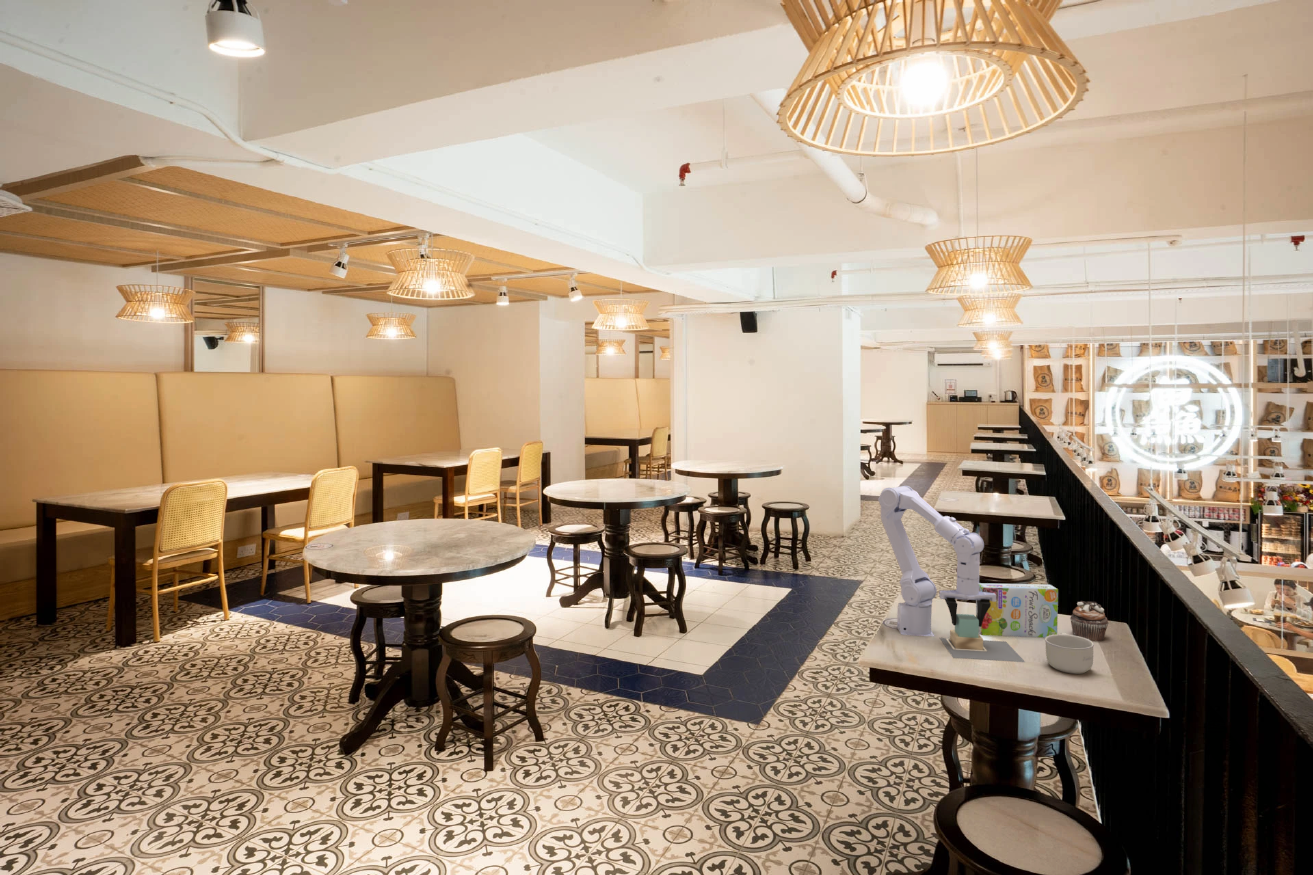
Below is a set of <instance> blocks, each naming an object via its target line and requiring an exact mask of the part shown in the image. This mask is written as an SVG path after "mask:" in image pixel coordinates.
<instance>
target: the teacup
mask: <svg viewBox="0 0 1313 875" xmlns="http://www.w3.org/2000/svg"><path fill="white" fill-rule="evenodd" d="M1044 642H1045V657H1046V661H1047V663H1048V664H1049V665H1050V666H1051V667H1052V668H1054V669H1055V670H1057V671H1060V672H1062V673H1067V674H1075V675H1081V674H1085V673H1086V672H1087V671H1089V670H1091V668H1092V667H1093V665H1094V646H1095V644H1094V641H1091V640H1089V639H1086V638H1083V637H1079V636H1074V635H1073V634H1068V633H1066V632H1061V633H1059V634H1058V633H1057V634H1056V635H1050V636H1047V637H1044Z"/></svg>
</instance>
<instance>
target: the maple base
mask: <svg viewBox="0 0 1313 875" xmlns="http://www.w3.org/2000/svg"><path fill="white" fill-rule="evenodd" d="M949 630H950V631H949V638H950V641H951V642H952V644H953V645H954V646H955V648H956V649H973V650H983V640H984V639H983V637H982V635H981V634H980V633H978V638H970V637H959V636H958V635H957V633H956V632H955V629H949Z"/></svg>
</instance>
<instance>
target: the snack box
mask: <svg viewBox="0 0 1313 875" xmlns="http://www.w3.org/2000/svg"><path fill="white" fill-rule="evenodd" d="M979 591H980V592H988V593H994V594H996V602H993V601H990V603H991V606H990V608H989V609H988V611H987V613H986V614H985V617H984V619H983V622H982V627H979V633H978V634H979V635H980V636H995V637H1025V638H1027V637H1028V638H1046V637H1047V636H1050V635H1056V634H1058V619H1059V618H1058V616H1059V615H1058V610H1059V607H1058V606H1059V589H1058V588H1056V587H1055V586H1053V585H1052V584H1040V583H1039V584H1038V583H1037V584H1036V583H1032V584H1030V583H1029V584H1028V583H988V582H987V583H981V582H979ZM975 617H976V618H977V600H975Z"/></svg>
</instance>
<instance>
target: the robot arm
mask: <svg viewBox="0 0 1313 875" xmlns="http://www.w3.org/2000/svg"><path fill="white" fill-rule="evenodd" d="M877 501H878V503H879V506H880V519H881V523H882V526H883V528H884V530H885V532H886V536H887V539H888V540H889V543H890V545H891V548H892V551H893V553H894V556H895V558H896V561H897V563H898V567H899V569H900V571H901V573H902V574H901V578H900V580H899V585H900V588H901V589H900V590H901V591H900V592H901V597H902V600H904V602H899V603H898V604H897V614H896V615H897V621H896V628H897V630H898V632H899V634H900V635H903V636H918V637H919V636H920V637H921V636H922V637H935V634H934V633H933V631H932V615H933V614H932V613H933V612H932V611H933V609H932V607H933V599H934V598H935V597H936V596H937V594H938V591H937V590H938V589H937V586H936V584H935V583H934V581H933V580H931V578H930V577H929V574H928V572H926V571H924V570H923V569H922V568H921V566H920V563H919V562H918V558H917V556H916V553H915V551H914V549H913V547H912V544H911V541H910V539H909V537H908V534H907V532H906V529H905V526H904V524H903V521H902V517H903V516H904V514H905V512H906V511H907V510H913V511H914V512H915V513H917V514H918V515H920V516H921V517H922V518H924V519H925V520H926V521H927V522H930V523H931V524H932V525H933V526H934V531H935V533H937V534H938V535H939V536H941V537H942V539H944V540H946V542H948V543H949V544H950V545H951V546H953V547H952V548H953V550H954V552H955V554H956V560H957V561H956V562H957V563H956V564H957V565H956V589H955V590H954V589H953V590H951V589H950V590H949V589H948V590H939V594H938V596H939V598H940V599H941V600H944V601H945V603H946V605H947V607H948V610H949V613H950V618H951V624H952V625H953V626H955V625H956V623H957V619H956V614H958V613H957V610H958V603H957V600H968V601H969V600H971V601H976V600H977V619H978V620H979V627H982V622H983V619H984V617H985V614H986V613H987V611H988V609H989V608H990V606H991V603H990V601H993V602H996V594H994V593H988V592H980V591H979V583H980V564H981V563H980V561H981V559H980V558H981V556H980V555H981V552H982V551H983V550H984V548H985V543H984V539H983V537H981V536H980V534H978V532H977V533H976V532H970V530H969V529H968V528H965V527H963V526H962V525H961V524H959V523H958V522H957V519H956V518H955V517H953V516H951V517H950V515H949V516H948V515H945V516H943V515H942V514H941V513H939V511H937V509H935V508H934V507H933V506H931V505H930V504H929V503H928V502H927V501H926V500H925V499H924V498H923V497H921V495H919V493H918V491H916V490H914V489H913V488H912V487H911V486H909V485H901V486H896V487H895V486H894V487H893V486H892V487H885V488H884V489H883V490H882V491H881V493H880V494H879V497H878V498H877Z"/></svg>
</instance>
